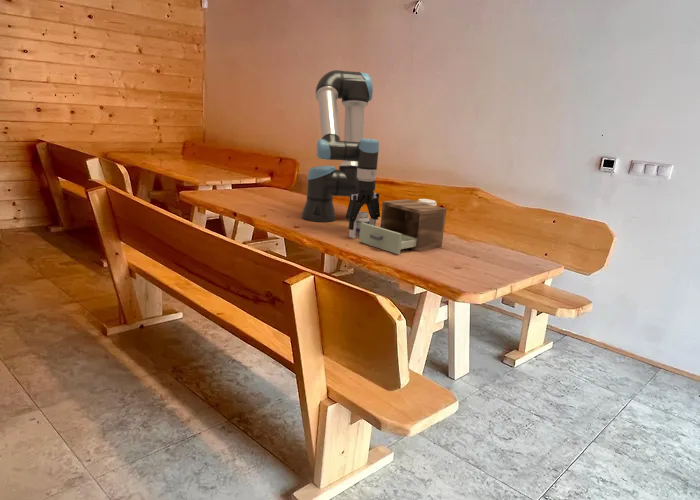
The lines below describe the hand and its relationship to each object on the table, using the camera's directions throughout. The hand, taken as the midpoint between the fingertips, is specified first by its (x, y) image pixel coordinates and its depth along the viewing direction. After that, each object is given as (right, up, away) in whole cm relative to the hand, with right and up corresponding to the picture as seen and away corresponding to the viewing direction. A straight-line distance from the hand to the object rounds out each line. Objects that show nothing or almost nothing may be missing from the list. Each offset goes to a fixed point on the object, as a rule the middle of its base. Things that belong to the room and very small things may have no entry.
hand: (361, 236), depth 207 cm
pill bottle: (0, 0, 0) cm, 0 cm away
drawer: (+10, -4, -12) cm, 16 cm away
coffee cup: (+26, 0, +9) cm, 27 cm away
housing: (+19, -3, -4) cm, 19 cm away
